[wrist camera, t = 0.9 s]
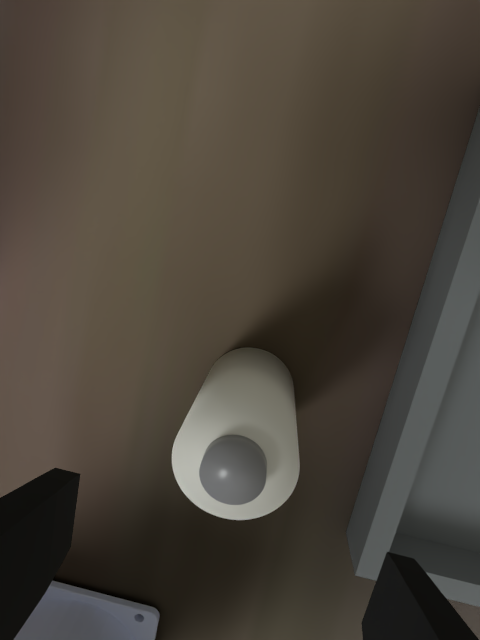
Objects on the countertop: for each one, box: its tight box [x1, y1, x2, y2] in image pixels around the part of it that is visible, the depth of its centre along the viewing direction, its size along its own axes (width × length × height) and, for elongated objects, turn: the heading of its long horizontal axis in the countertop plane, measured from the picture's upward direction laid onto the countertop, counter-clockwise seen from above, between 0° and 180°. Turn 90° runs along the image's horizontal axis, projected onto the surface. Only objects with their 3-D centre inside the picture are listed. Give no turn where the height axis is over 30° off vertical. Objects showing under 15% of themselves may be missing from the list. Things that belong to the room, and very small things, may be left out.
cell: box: [172, 347, 300, 520], centre depth 15 cm, size 4×4×7 cm
